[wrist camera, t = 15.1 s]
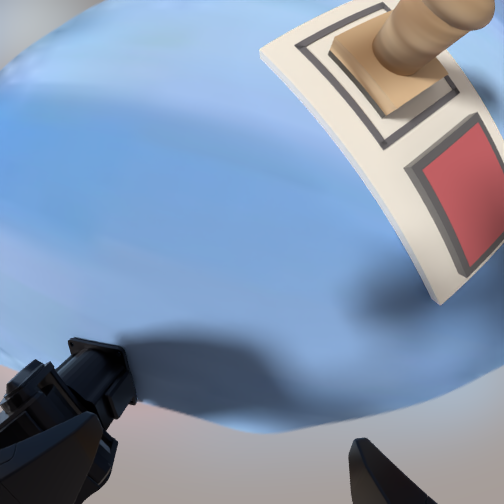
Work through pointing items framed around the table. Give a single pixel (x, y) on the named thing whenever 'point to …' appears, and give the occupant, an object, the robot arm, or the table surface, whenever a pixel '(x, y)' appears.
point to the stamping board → (382, 130)
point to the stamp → (405, 48)
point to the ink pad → (463, 191)
